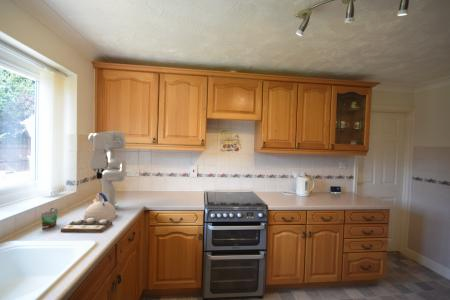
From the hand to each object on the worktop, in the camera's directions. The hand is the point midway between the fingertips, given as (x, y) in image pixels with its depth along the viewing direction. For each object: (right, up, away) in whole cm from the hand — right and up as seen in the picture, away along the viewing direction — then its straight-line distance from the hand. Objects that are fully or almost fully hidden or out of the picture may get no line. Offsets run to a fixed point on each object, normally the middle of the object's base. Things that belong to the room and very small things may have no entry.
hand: (99, 178), depth 147 cm
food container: (-24, -29, -10) cm, 39 cm away
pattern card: (0, -27, -16) cm, 32 cm away
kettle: (-4, -29, +8) cm, 30 cm away
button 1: (-8, -27, -10) cm, 30 cm away
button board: (0, -29, -12) cm, 32 cm away
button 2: (+8, -27, -9) cm, 30 cm away
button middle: (0, -26, -9) cm, 28 cm away
